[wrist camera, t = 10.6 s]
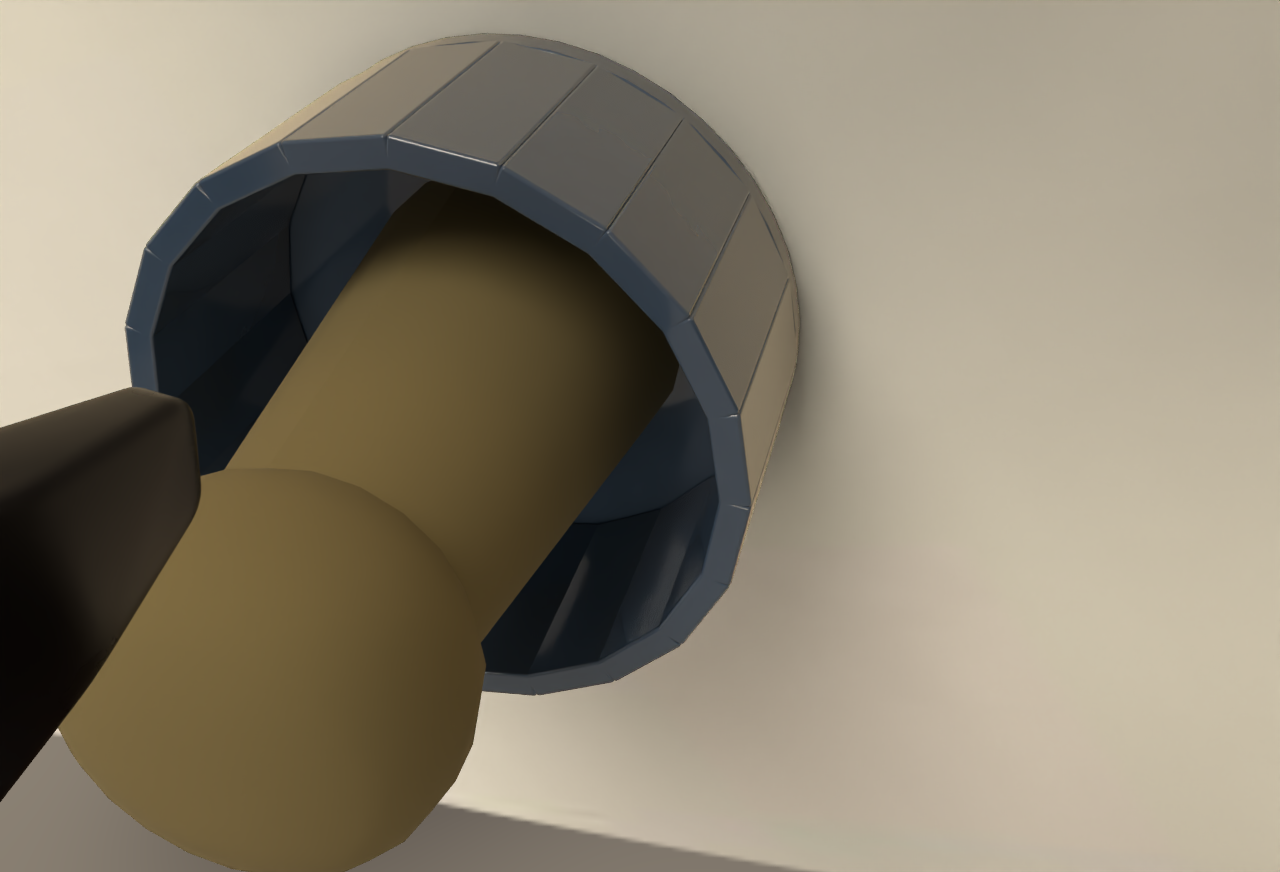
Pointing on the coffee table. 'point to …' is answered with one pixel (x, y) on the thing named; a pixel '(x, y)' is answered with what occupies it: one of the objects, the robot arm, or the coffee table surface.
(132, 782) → the brown cylinder with knob
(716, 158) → the blue-grey round bowl
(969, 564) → the coffee table surface
